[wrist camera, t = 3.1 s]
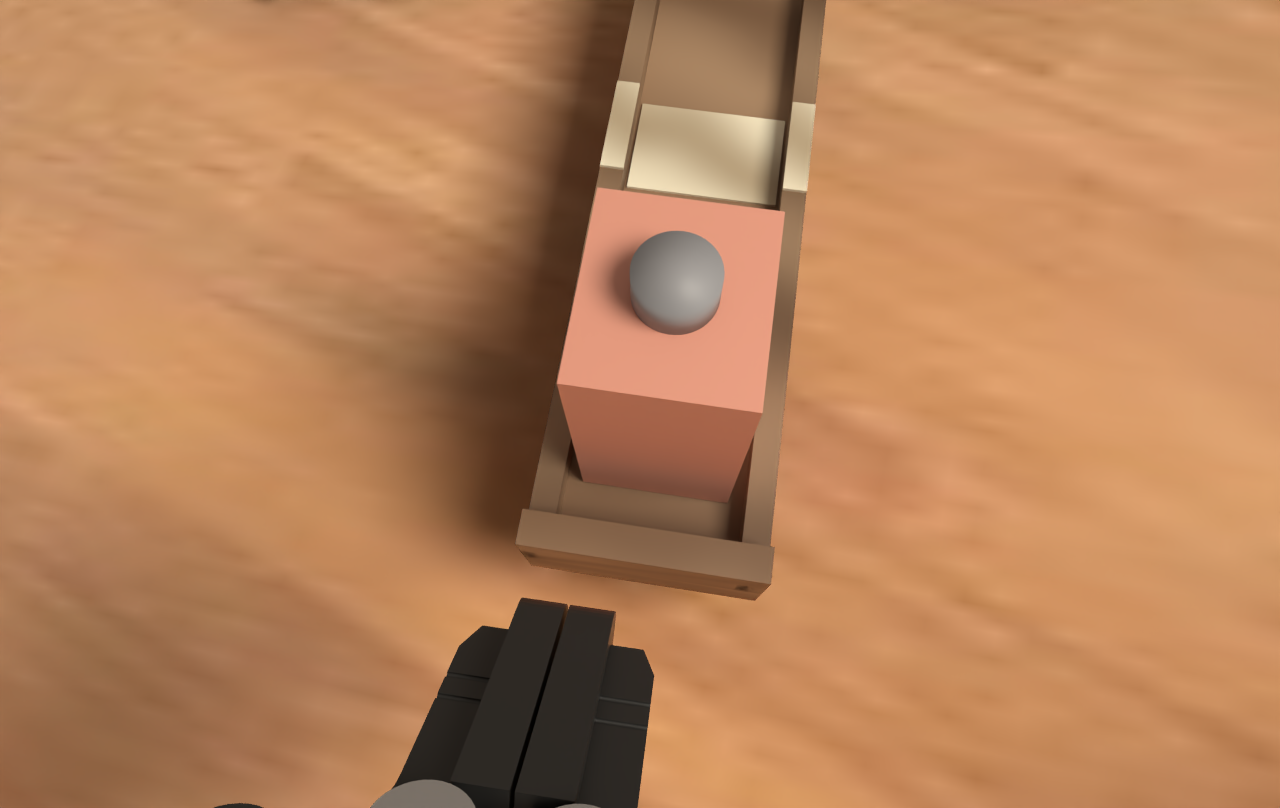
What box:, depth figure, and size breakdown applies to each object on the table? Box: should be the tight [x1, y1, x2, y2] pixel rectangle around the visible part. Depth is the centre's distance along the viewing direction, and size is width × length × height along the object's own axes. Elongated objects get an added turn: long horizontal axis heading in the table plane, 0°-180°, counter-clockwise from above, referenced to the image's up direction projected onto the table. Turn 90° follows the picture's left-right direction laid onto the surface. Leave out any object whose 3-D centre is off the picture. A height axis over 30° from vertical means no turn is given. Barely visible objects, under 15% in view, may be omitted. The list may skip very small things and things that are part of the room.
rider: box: [557, 187, 785, 503], centre depth 22 cm, size 5×4×9 cm
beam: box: [515, 0, 826, 601], centre depth 31 cm, size 28×7×8 cm, turn 171°
